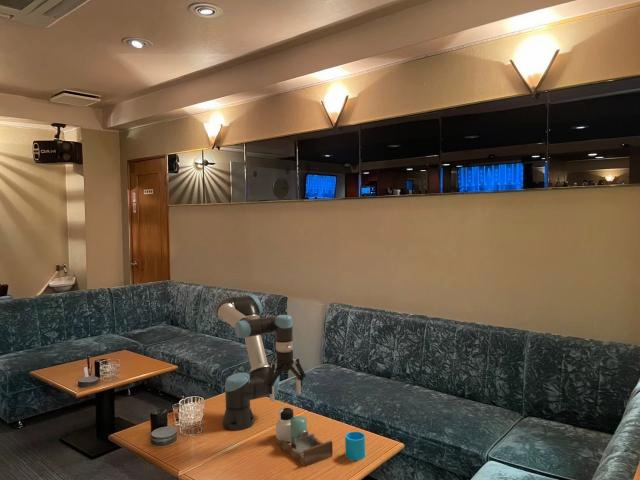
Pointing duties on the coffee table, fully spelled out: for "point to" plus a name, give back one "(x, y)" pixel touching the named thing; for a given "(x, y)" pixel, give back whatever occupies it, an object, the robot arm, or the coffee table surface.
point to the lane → (308, 451)
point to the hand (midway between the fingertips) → (285, 397)
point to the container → (284, 424)
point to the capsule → (297, 427)
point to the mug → (355, 445)
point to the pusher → (304, 441)
